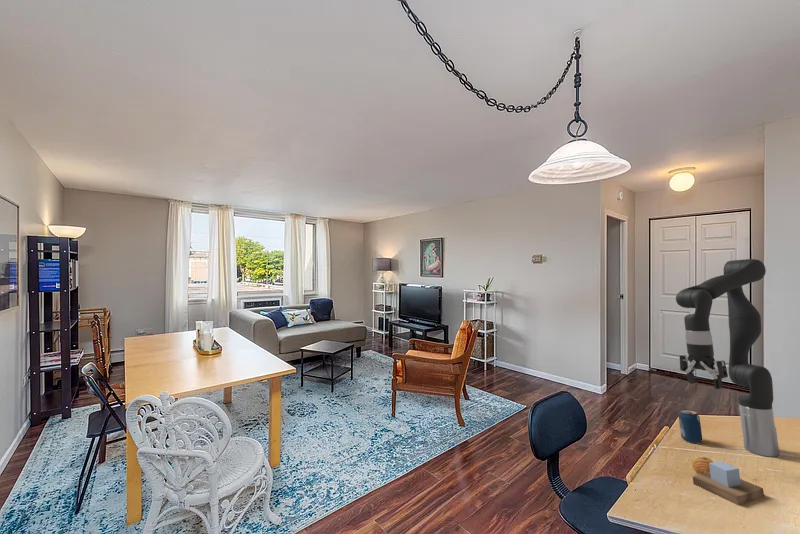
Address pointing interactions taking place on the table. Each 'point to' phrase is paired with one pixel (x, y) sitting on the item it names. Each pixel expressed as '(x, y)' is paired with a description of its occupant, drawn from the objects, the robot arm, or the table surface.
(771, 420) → the robot arm
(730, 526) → the table surface
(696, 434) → the soda can
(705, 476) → the walnut base
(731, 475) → the blue cube
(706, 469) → the pastry
